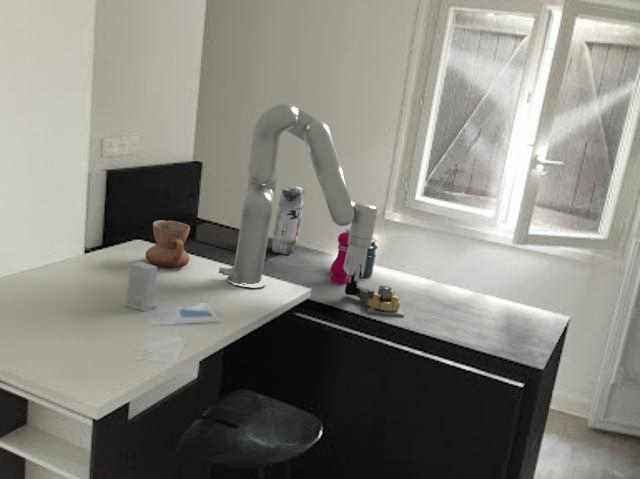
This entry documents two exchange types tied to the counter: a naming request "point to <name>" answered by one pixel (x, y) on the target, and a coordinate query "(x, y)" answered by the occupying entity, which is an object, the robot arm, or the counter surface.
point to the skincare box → (141, 286)
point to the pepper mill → (340, 260)
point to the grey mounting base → (385, 296)
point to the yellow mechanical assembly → (378, 299)
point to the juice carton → (288, 220)
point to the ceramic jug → (169, 245)
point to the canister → (370, 259)
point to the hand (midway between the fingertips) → (349, 294)
